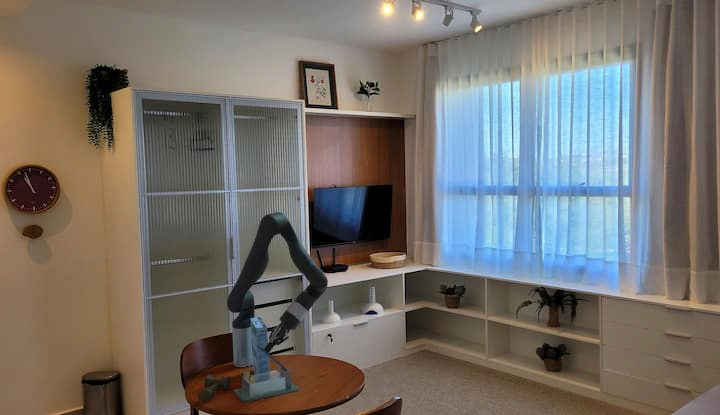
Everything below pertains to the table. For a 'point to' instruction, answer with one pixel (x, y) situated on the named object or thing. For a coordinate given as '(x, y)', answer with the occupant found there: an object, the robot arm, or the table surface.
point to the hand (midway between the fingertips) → (265, 351)
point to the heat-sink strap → (272, 358)
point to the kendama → (213, 387)
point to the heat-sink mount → (265, 385)
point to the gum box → (261, 339)
